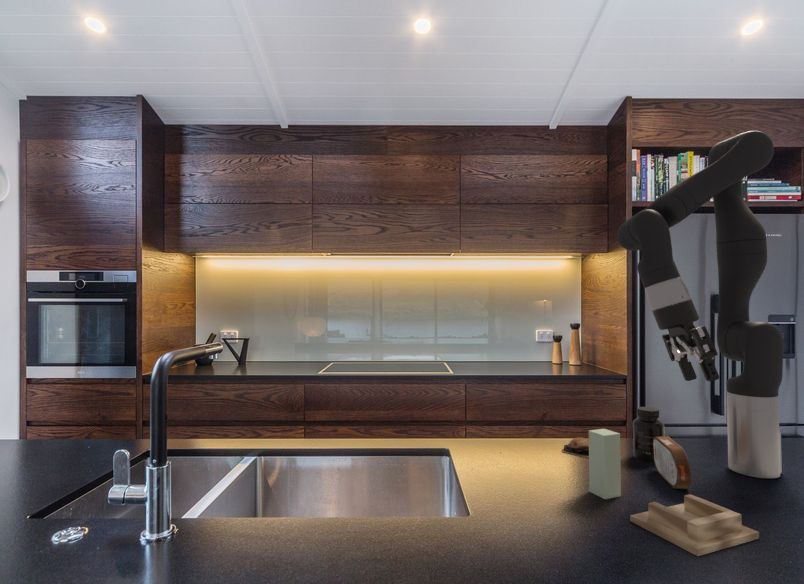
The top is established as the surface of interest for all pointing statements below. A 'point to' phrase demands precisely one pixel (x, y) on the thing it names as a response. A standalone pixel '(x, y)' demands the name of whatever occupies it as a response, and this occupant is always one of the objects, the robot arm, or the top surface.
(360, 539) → the top surface
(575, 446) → the bread roll
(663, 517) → the rack
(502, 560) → the top surface
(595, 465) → the green block
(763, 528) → the top surface
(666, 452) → the tin
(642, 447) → the supplement bottle
